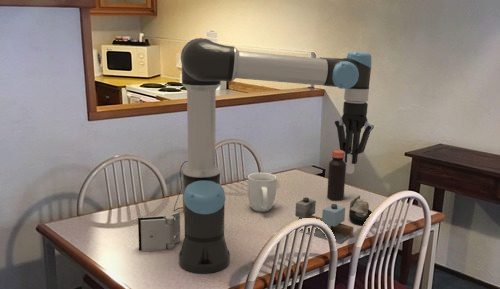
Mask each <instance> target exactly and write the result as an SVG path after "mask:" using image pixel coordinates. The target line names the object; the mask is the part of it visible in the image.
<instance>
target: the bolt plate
mask: <svg viewBox="0 0 500 289" xmlns="http://www.w3.org/2000/svg"><path fill="white" fill-rule="evenodd" d="M331 230H332V229H331ZM300 231H303V229H301V230H300ZM300 231H299V232H300ZM332 232H333V234H334V236H335V239H336V242H337V243H336V242H335V243H336V244H339V243H341V244H342V243H344V242H345V241H347V240H348V239H349V238H351V237H350V235H349V234H345V233H342V232H339V231H335V230H332ZM309 233H310V228H308V235H310V234H309ZM314 236H315V237H316V238H320V239H324V240H326V241H328V240H327V238H326V236H325V234H324V233H323V232H322V231H321V230H320V229H318V228H316V229H315V233H314Z"/></svg>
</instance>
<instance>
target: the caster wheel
mask: <svg viewBox="0 0 500 289" xmlns="http://www.w3.org/2000/svg"><path fill="white" fill-rule="evenodd" d="M369 206H370V204H369V202H367V201H366V200H364V199H361V195H358V196H356V197H355V198H354V199H353V200H352V201H350V203H349V211H348V217H349V218H348V219H349V221H350V222H351V223H353V224H354V225H356V226H362V225H363V224H364V222H365V221H366V219H367V218H368V217H369V215H370V214H371V213H373V212H372V210H370V209H369V208H370V207H369Z"/></svg>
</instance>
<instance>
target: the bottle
mask: <svg viewBox="0 0 500 289" xmlns="http://www.w3.org/2000/svg"><path fill="white" fill-rule="evenodd" d="M331 158H332V159H331V160H330V161H329V163H328V175H327V176H328V177H327V178H328V179H327V193H326V194H327V195H326V196H327V197H326V198H327V199H328V200H330V201H334V200H335V201H336V202H337V201H339V200H340V201H342V200H344V197H345V185H346V184H345V182H346V167H347V163H346V162H345V152H344V151H343V150H340V149H338V150H337V149H336V150H332V152H331Z"/></svg>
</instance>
